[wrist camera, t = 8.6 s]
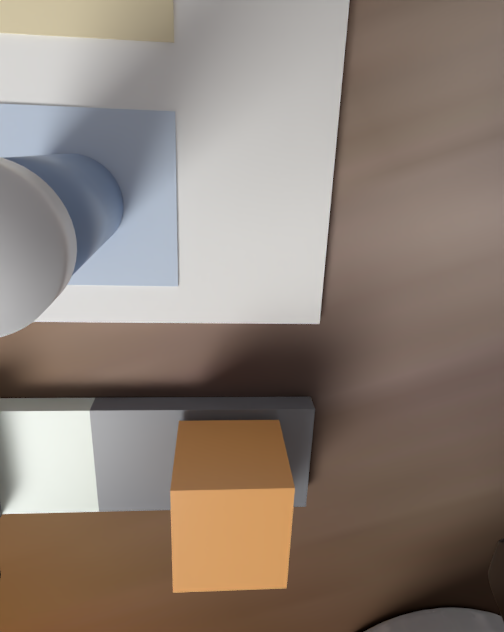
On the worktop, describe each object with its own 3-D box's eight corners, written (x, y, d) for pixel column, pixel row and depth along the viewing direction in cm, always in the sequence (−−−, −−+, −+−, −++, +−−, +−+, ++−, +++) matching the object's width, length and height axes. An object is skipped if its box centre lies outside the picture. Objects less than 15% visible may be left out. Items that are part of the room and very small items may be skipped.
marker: (122, 151, 16) (49, 156, 8) (129, 251, 17) (70, 337, 9) (17, 149, 16) (-162, 153, 8) (31, 251, 17) (-113, 341, 9)
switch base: (310, 396, 20) (325, 437, 18) (301, 490, 22) (314, 542, 19) (-32, 398, 19) (-74, 442, 16) (-13, 497, 21) (-47, 553, 18)
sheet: (365, -203, 14) (370, -215, 13) (317, 320, 19) (319, 324, 19) (-200, -260, 12) (-216, -276, 12) (-75, 317, 18) (-83, 321, 17)
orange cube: (279, 419, 19) (294, 488, 15) (273, 506, 21) (286, 588, 17) (178, 420, 19) (170, 490, 15) (180, 509, 20) (172, 592, 17)
